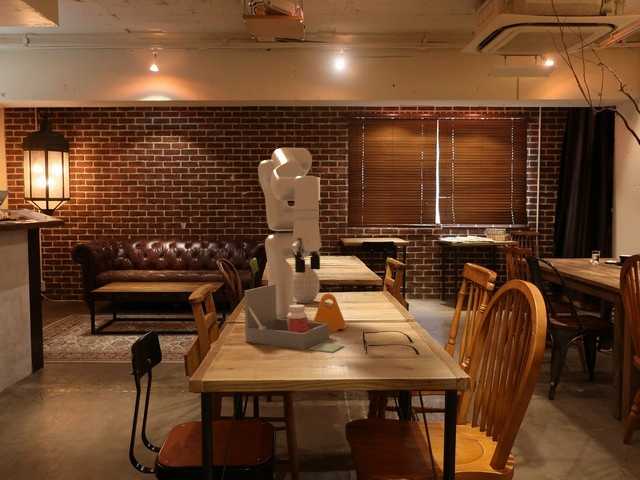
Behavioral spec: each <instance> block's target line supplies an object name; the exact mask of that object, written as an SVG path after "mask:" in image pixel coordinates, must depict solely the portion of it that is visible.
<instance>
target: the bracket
mask: <svg viewBox="0 0 640 480" xmlns="http://www.w3.org/2000/svg"><path fill="white" fill-rule="evenodd" d="M327 300H330V301H332V303H331V304H330V305H326V304H325V302H326V301H327ZM312 322H319V323H329V332H338V330H339V329H340V330H346V322H345V319H344V317H343V314H342V312H341V308H340V306H339V303H338V301H337V299H336V296H335V295H333V294H331V293H326V294H324V295H322V296H321V298H320V302H319V305H318V307H317V310H316V313H315V316H314V319H312Z"/></svg>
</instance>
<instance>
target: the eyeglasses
mask: <svg viewBox="0 0 640 480" xmlns="http://www.w3.org/2000/svg"><path fill="white" fill-rule="evenodd" d="M387 332H388V333H389V332H390V333H392V332H395V333H401V334H403V335H404V336H406V338H407V339H408V340H409V342H410V343H411V342H412V343H411V344H413V343H414V341H413V340H412V338H411V337H410V335H408V334H406V333H404V332H403V331H400V330H399V331H397V330H385V331H384V330H382V331H366V332H365V331H363V332H362V341H363V348H364V351H365V355H367V354H368V347H382V346H386V344H367V341H366V338H365V337H366V336H365V334H373V333H374V334H377V333H387ZM388 346H405V347H409V348H412V349H413V350H414V352H415V354H416V355H420V352H419V350H418V349H417V348H416V347H413V346H412V345H409V344H402V343H401V344H399V343H397V344H394V343H393V344H392V343H391V344H388Z"/></svg>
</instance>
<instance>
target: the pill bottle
mask: <svg viewBox="0 0 640 480" xmlns="http://www.w3.org/2000/svg"><path fill="white" fill-rule="evenodd" d="M289 310H290V313H288V315H287V318H286V319H287V330H288V331H289V332H298V333H303V332H306V331H307V321H308V314H307V313H306V312H305V305H304V304H294V305H290V306H289Z"/></svg>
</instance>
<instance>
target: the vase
mask: <svg viewBox="0 0 640 480" xmlns="http://www.w3.org/2000/svg"><path fill="white" fill-rule="evenodd" d="M319 292H320V279H319V275H318V274H317V273H316V271H315V269H311V267H310V265H309V264H308V263H305V273H296V272H295V271H293V299H294V300H295V301H296V302H297V303H298V304H311V303H313V302H315V300H316V299H317V296H318V295H319Z"/></svg>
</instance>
